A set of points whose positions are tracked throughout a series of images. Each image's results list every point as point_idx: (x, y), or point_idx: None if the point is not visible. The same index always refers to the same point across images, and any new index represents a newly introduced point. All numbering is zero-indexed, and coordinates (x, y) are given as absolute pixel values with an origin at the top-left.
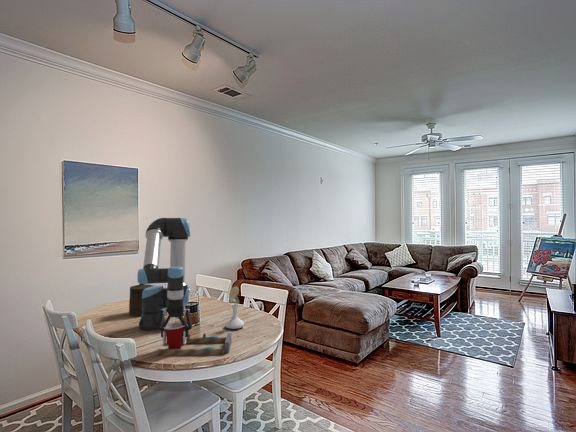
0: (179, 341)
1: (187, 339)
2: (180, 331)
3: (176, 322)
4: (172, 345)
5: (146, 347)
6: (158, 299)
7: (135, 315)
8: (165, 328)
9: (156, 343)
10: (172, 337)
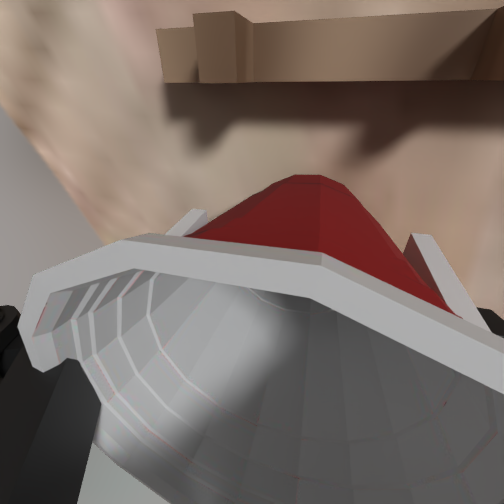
0: (353, 322)
1: (471, 78)
2: (378, 467)
3: (190, 259)
4: (288, 302)
5: (76, 161)
6: None
7: None
8: (149, 485)
9: (91, 61)
10: (277, 382)
